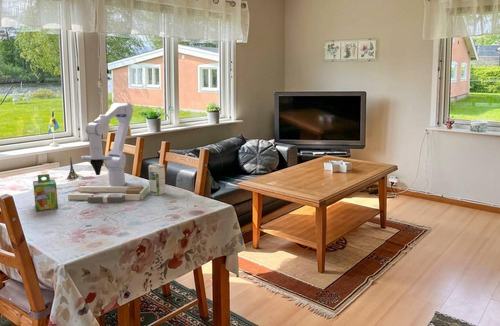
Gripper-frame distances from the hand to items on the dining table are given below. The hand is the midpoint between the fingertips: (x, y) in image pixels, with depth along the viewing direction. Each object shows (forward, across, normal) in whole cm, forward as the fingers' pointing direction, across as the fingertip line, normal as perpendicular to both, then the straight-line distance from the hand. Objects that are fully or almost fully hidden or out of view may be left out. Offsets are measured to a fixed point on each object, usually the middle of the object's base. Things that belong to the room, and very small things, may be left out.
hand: (98, 174), depth 217 cm
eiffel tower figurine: (+10, -25, +29) cm, 40 cm away
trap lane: (+9, +6, -6) cm, 13 cm away
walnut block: (+10, +19, -4) cm, 22 cm away
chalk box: (+10, -16, -22) cm, 29 cm away
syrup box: (+10, +29, 0) cm, 31 cm away
